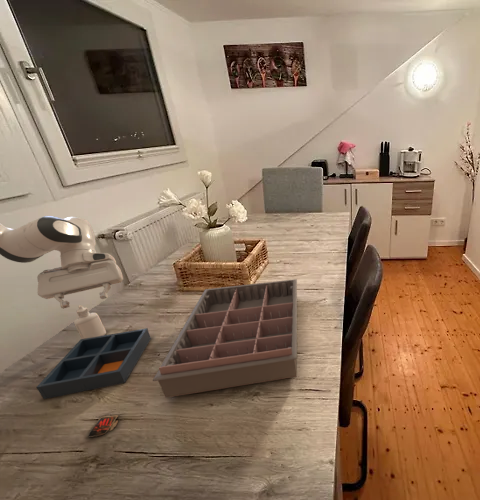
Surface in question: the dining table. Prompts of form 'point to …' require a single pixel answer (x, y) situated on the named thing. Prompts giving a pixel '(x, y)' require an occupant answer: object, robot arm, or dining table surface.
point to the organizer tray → (234, 339)
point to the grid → (96, 363)
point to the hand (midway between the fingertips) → (85, 302)
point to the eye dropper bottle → (88, 324)
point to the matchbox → (103, 425)
